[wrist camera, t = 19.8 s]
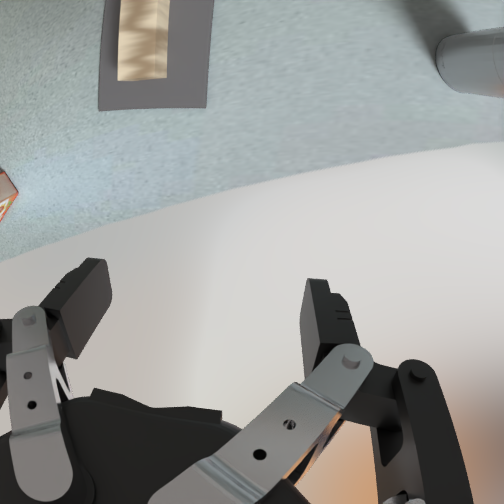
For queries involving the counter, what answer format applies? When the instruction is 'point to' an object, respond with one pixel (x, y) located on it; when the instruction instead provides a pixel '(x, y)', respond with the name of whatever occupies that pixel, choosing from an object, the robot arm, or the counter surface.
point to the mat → (178, 61)
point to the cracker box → (6, 194)
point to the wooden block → (143, 39)
